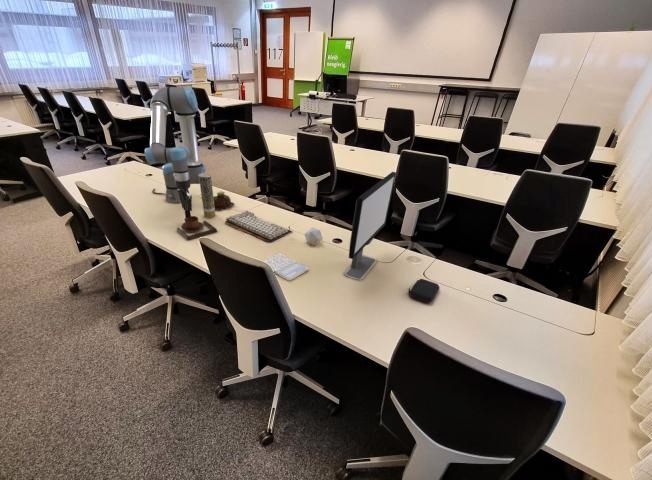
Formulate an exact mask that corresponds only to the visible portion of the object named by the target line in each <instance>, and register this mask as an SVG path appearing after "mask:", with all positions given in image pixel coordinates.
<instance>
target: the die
mask: <svg viewBox="0 0 652 480" xmlns="http://www.w3.org/2000/svg"><path fill="white" fill-rule="evenodd" d="M304 237H305V241H306V243H307V244H310V245H312V246H314V247H316V246H317V245H318V244H319V243H320V242H322V241H323V235H322V232H321V230H320V229H318V228H315V227H313V226H312V227H310V228H309V229H308V230H307V231H306V232H305V233H304Z"/></svg>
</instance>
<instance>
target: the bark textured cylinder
mask: <svg viewBox="0 0 652 480" xmlns="http://www.w3.org/2000/svg"><path fill="white" fill-rule="evenodd" d="M199 181H200V184H199V187H200V196H201V203H202V210H203V216H204V218H205V219H212V218H215V216H216V210H215V206H214V197H215V196H214V190H213V189H214V188H213V182H212V174H211V173H210V172H205V173H201V174H199Z"/></svg>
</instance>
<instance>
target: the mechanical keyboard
mask: <svg viewBox="0 0 652 480" xmlns="http://www.w3.org/2000/svg"><path fill="white" fill-rule="evenodd" d="M224 224H225V225H228V226H230V227H232V228H234V229H236V230H239V231H242V232H243V233H245V234H249V235H251V236H252V237H255V238H256V239H259V240H262V241H264V242H267V243H269V242H270V243H272V242H274V241H277V240H278V239H280V238H282V237H284V236H287V235H289V234H292V232H293V231H292V230H290V229H288V228H286V227H282V226H280V225H278V224H276V223H273V222H272V221H269V220H266V219H264V218H262V217H259V216H257V215H255V214H254V212H252V211H248V210H244V211H242V212H239V213H236V214H233V215H230V216H229V217H228V216H227V217H225V222H224Z"/></svg>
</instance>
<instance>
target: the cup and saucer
mask: <svg viewBox="0 0 652 480" xmlns="http://www.w3.org/2000/svg"><path fill="white" fill-rule="evenodd" d="M203 228H204V224H203V222H200V221H199V218H198V216H194V215H191V217H185V218H184V222H183V224H181V230H182V231H184V232H189V233H190V232H191V233H193V232H198V231H200V230H202V229H203Z"/></svg>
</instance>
